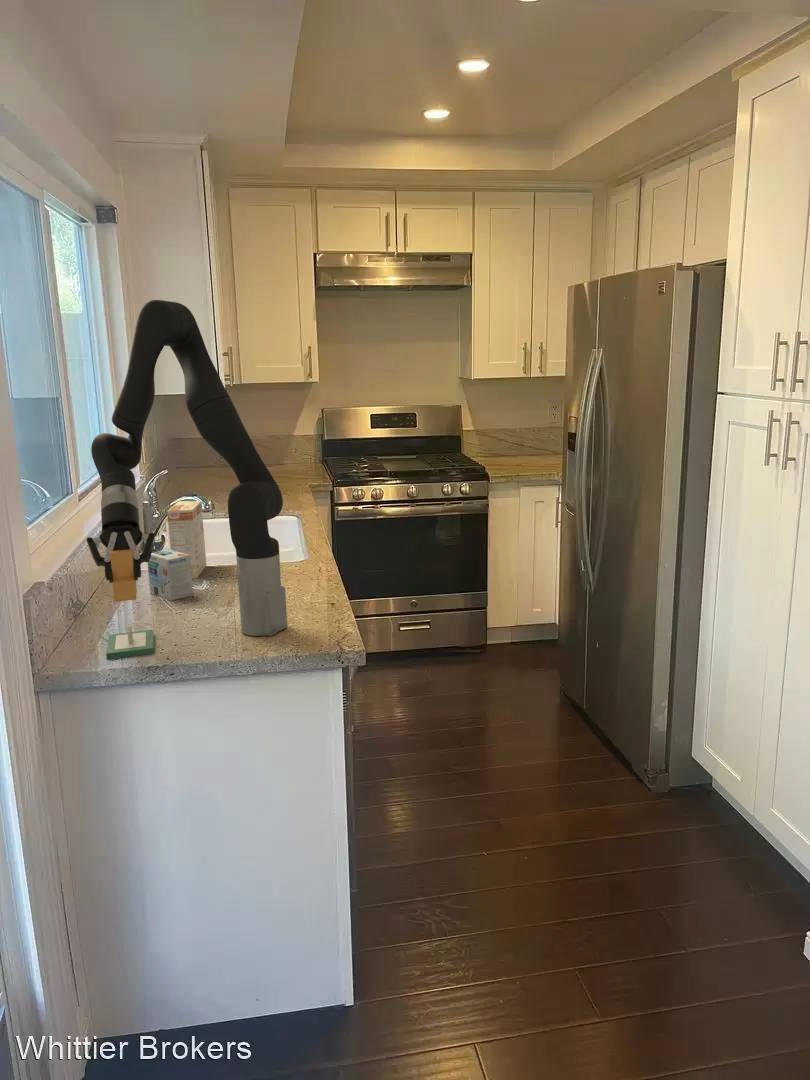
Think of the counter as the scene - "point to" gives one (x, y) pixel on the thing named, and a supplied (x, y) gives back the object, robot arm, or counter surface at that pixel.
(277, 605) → the robot arm
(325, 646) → the counter surface
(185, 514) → the coffeecake box
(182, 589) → the light bulb box
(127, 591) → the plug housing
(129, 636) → the board
